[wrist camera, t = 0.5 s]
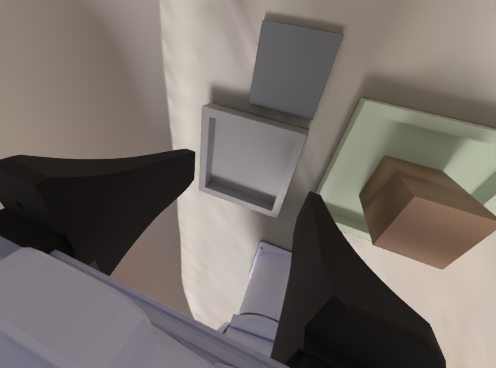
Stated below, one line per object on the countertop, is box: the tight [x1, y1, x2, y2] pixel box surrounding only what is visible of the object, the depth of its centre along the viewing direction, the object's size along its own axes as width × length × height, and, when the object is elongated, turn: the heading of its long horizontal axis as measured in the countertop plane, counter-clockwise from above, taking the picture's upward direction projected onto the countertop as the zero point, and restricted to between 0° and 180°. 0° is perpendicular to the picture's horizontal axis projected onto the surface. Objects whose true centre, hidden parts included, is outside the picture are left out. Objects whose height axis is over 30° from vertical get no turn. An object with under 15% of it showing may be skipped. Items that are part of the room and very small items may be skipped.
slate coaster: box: [249, 20, 344, 120], centre depth 16 cm, size 6×6×1 cm
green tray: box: [315, 97, 496, 241], centre depth 17 cm, size 12×12×2 cm
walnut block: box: [359, 155, 496, 270], centre depth 15 cm, size 4×4×6 cm
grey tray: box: [199, 103, 309, 219], centre depth 21 cm, size 10×10×2 cm
